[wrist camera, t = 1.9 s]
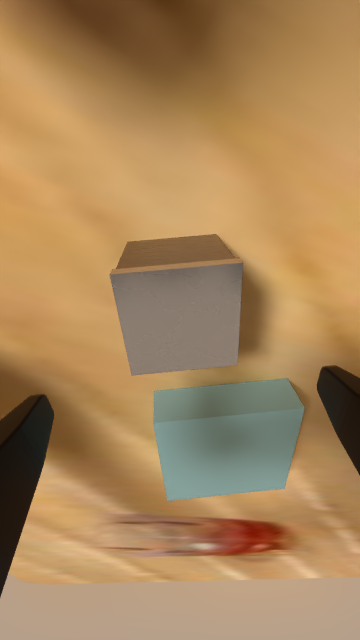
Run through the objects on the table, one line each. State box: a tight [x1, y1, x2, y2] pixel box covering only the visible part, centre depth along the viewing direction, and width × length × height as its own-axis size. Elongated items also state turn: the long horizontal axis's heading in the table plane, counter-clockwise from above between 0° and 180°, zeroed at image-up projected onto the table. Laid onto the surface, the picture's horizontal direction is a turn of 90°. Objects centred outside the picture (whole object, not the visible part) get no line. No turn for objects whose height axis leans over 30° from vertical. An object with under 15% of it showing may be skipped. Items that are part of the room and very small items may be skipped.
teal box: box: [153, 378, 305, 501], centre depth 23 cm, size 11×11×4 cm
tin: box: [110, 234, 243, 375], centre depth 14 cm, size 5×5×6 cm
